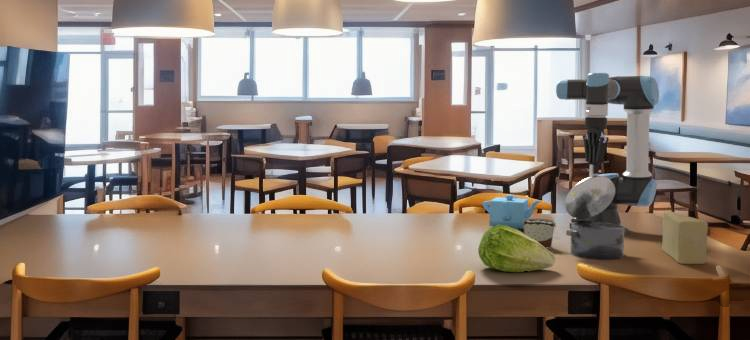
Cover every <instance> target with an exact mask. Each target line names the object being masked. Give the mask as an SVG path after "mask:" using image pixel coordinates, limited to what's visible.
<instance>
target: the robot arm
mask: <svg viewBox="0 0 750 340" xmlns="http://www.w3.org/2000/svg"><path fill="white" fill-rule="evenodd" d="M555 87H556V88H555V93H556V97H557V99H559V100H565V101H567V100H568V101H569V100H572V101H573V100H574V101H575V100H585V108H584V109H585V116H586V117H585V119H584V127H585V128H587V130H586V134H583V135H582V140H583V144H584V145H583V146H584V147H583V148H584V155H585V162H587V163H588V164H589V165H588V166H589V168H588V169H589V170H588V171H589V172H588V173H589V175H588V178H589V177H592V176H604V177H607V178H609V179H610V180H611V181H612V183H613V184H614V186H615V195H614V198H613V200H612V202H611V203H610V204H609V206H608V207H607V208H606V209H605V210H603V211H602V212H600V213H599V214H597V215H595V216H593V217H590V218H592V219H593V221H592V222H602V223H611V224H617V225H620V226H622V222H621V218H620V215H619V212H618V207H619V206H620V205H622V206H632V207H634V206H635V207H638V208H639V207H645V208H646V207H650V206H651V204H652V203H653V202H654V199H655V196H656V193H657V180H656V179H654V178H653V174H652V173H651V171H650V170H649V155H650V154H649V149H650V148H649V147H650V146H649V145H650V113H651V112H653V110H654V107H655V106H656V105H657V104H658V103H659V99H660V91H659V85H658V82H657V80H656V78H655V77H653V76H650V75H636V76H635V75H634V76H633V75H632V76H631V75H630V76H629V75H628V76H627V75H626V76H610V74H609V73H607V72H590V73H588V74H587V76H586V79H585V78H584V79H576V78H575V79H560V80H558V82H557V84H556V86H555ZM609 104H610V105H621V106H622V105H623V110H624V111H625V112H626V114H627V115H626V116H627V117H626V118H627V119H626V121H627V122H626V168H625V169H626V170H625V171H624V172H622V174H621V175H622V176H620V175H619V173H613V172H612V173H603V174H602V173H601V174H599V172H600V171H599V169H600V165H601V164H604V160H605V155H606V149H607V144H608V142H609V136H607V137H606V135H605V129H607V127H608V118H607V116H608V115H609V114H608V113H609ZM618 205H619V206H618Z"/></svg>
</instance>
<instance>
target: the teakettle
mask: <svg viewBox="0 0 750 340" xmlns="http://www.w3.org/2000/svg"><path fill="white" fill-rule="evenodd" d="M541 202H542V200H534V201H533V202H531V204H530V206H529V198H517V195H514V194H505V197H500V196H499V197H497V196H496V197H494V198H493V199H491V200H486V201H483V202H482V206H483V208H484V210H486V211H487V212H488V213H489V227H494V226H497V225H499V224H501V225H506V226H509V227H511V228H514V229H516V230H522V229H523V230H524V225H522V223H523V221H524V219H530V218H531V217H532V216H533V214H534V211H535V208H536V206H537V205H538V204H539V203H541Z"/></svg>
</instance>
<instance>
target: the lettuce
mask: <svg viewBox="0 0 750 340" xmlns="http://www.w3.org/2000/svg"><path fill="white" fill-rule="evenodd" d="M477 249H478V252H477V253H478V257H479V259H480V261H482V263H483V265H485V267H488V268H491V269H494V270H498V271H501V272H506V273H507V272H510V273H525V272H524V271H528V272H533V271H539V270H544V269H549V268H552V267H553V266H554V265H555V262H556V259H557V256H556V255H555V254H554V253H553V252H551V251H550V250H548V248H545V247H544V246H542V245H541V244H540V243H539V242H537V241H536V240H534V239H532V238H530V237H528V236H526V235H525V233H524V232H522V231H521V230H520V229H518V230H516V229H514V228H511V227H509V226H506V225H501V224H499V225H497V226H490V227H489V228H488V229H487V230H486V231H485V232H484V234H483V235H482V237H481V239H480V242H479V245H478V248H477Z"/></svg>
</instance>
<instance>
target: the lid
mask: <svg viewBox="0 0 750 340" xmlns="http://www.w3.org/2000/svg"><path fill="white" fill-rule="evenodd" d="M614 195H615V186H614V184H613V183H612V181H611V180H610V179H609V178H607V177H604V176H592V177H589V176H588V177H586V178H584V179H581V181H579V182H577V183H576V184H575V185H574V186H572V188H571V189H570V190H569V191H568V193H567V195H566V197H565V200H564V208H565V210H566V212H567V213H568V215H569V216H570V217H572V218H571V219H570V220H571V221H570V223H578V222H592V221H593V219H592V218H590V217H593V216H595V215H597V214H599V213H600V212H602V211H603V210H605V209H606V208H607V207H608V206H609V204H610V203H611V202H612V200H613V198H614Z"/></svg>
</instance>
